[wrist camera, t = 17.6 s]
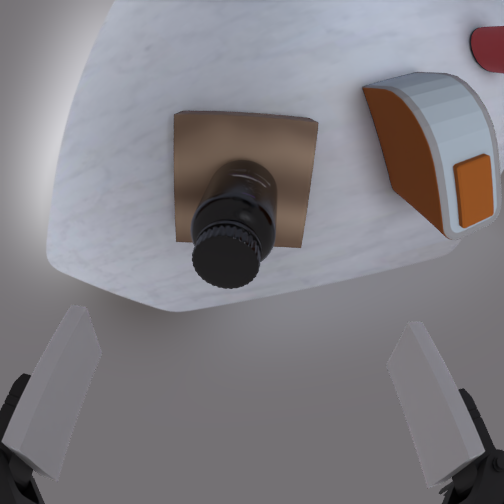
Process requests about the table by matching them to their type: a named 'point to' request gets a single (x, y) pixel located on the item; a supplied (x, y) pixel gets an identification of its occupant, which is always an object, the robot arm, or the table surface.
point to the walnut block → (244, 148)
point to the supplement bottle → (234, 224)
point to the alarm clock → (439, 149)
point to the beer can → (489, 48)
